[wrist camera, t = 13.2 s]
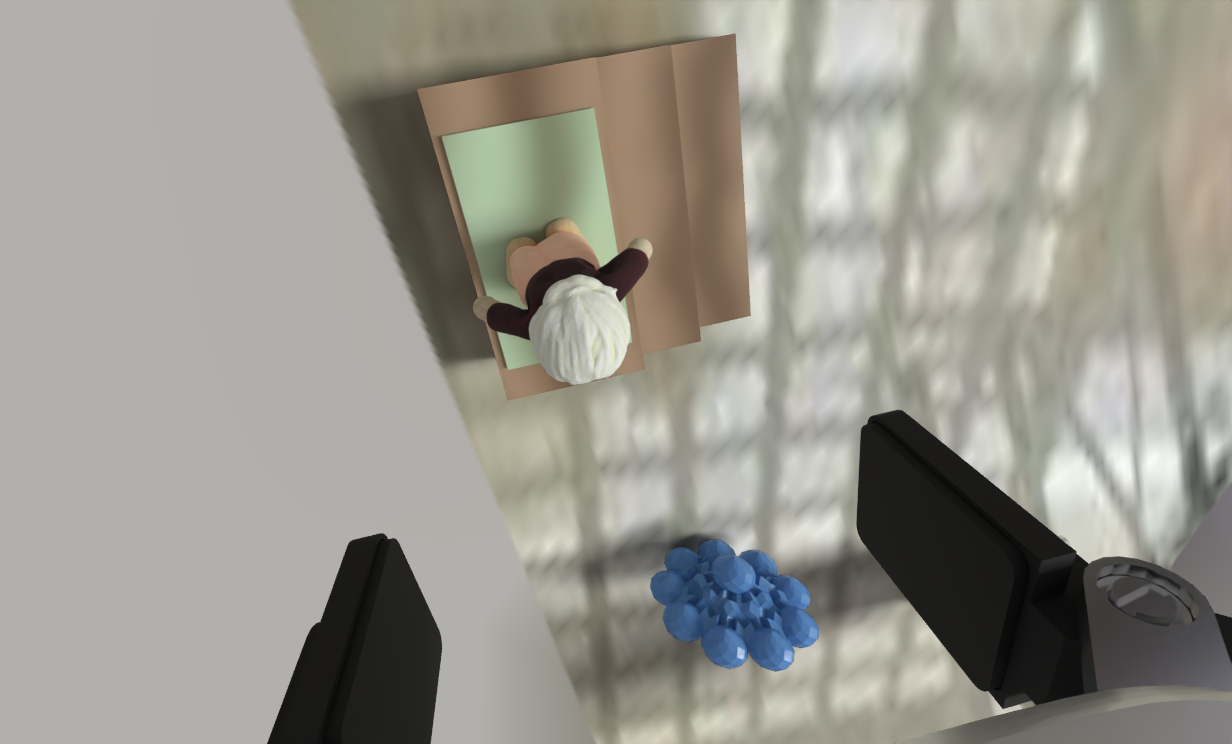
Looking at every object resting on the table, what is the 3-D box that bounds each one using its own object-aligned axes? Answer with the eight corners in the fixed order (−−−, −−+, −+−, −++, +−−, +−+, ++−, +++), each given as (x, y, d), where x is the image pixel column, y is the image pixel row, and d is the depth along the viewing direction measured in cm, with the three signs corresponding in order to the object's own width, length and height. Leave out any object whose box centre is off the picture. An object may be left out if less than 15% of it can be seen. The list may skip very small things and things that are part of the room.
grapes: (777, 493, 47) (855, 611, 36) (769, 554, 50) (840, 679, 39) (639, 513, 45) (679, 642, 35) (640, 575, 48) (678, 711, 38)
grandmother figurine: (515, 320, 30) (519, 460, 19) (469, 260, 28) (444, 375, 17) (639, 241, 29) (722, 337, 18) (601, 174, 27) (666, 233, 16)
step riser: (722, 36, 31) (769, 25, 26) (739, 305, 39) (778, 341, 33) (432, 89, 30) (415, 89, 24) (508, 356, 37) (508, 402, 32)
